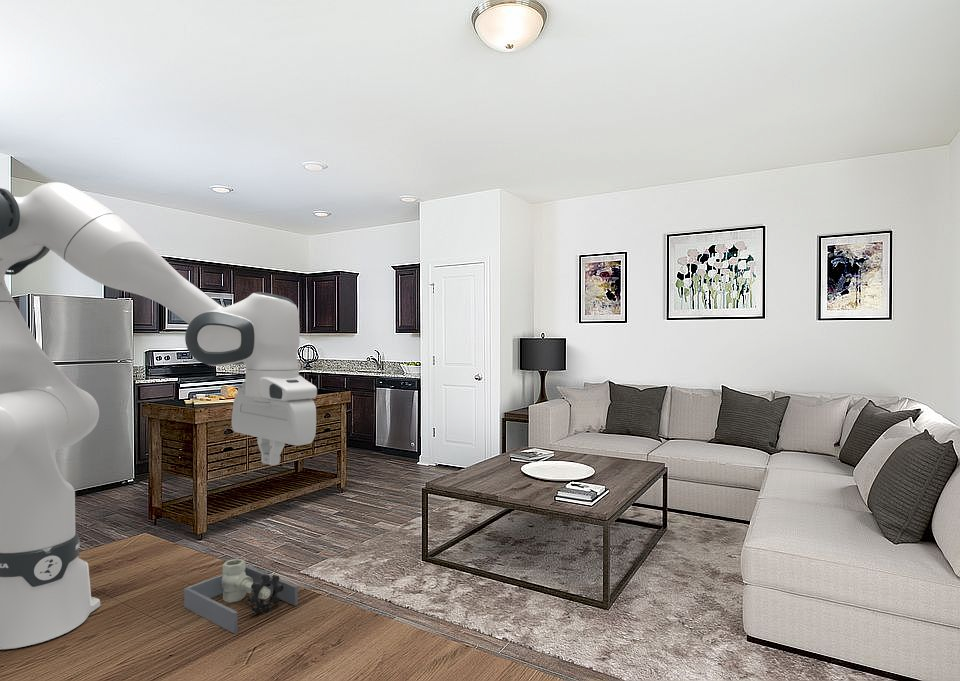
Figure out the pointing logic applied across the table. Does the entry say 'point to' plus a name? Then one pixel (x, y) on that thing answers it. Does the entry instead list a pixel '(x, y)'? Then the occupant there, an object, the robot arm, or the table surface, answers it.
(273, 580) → the valve
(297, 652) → the table surface
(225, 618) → the valve dock
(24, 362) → the robot arm
